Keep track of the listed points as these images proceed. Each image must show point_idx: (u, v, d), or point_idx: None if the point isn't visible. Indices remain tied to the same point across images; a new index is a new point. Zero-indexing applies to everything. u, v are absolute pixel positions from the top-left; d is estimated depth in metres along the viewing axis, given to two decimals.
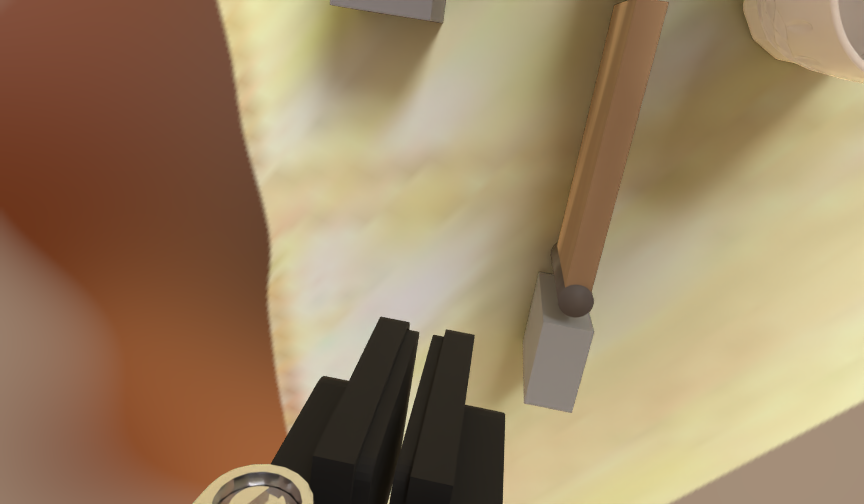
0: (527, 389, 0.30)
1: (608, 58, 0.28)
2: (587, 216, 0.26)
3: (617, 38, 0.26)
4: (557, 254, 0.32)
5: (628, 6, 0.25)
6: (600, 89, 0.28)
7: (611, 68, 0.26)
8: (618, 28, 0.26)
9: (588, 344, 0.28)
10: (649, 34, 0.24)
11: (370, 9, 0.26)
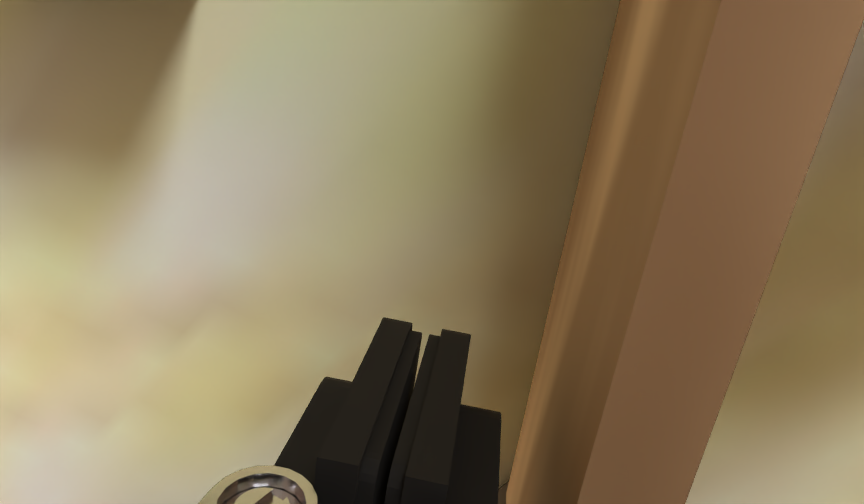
0: None
1: (625, 78, 0.09)
2: None
3: (658, 13, 0.08)
4: None
5: None
6: (601, 167, 0.10)
7: (638, 115, 0.08)
8: None
9: None
10: None
11: None
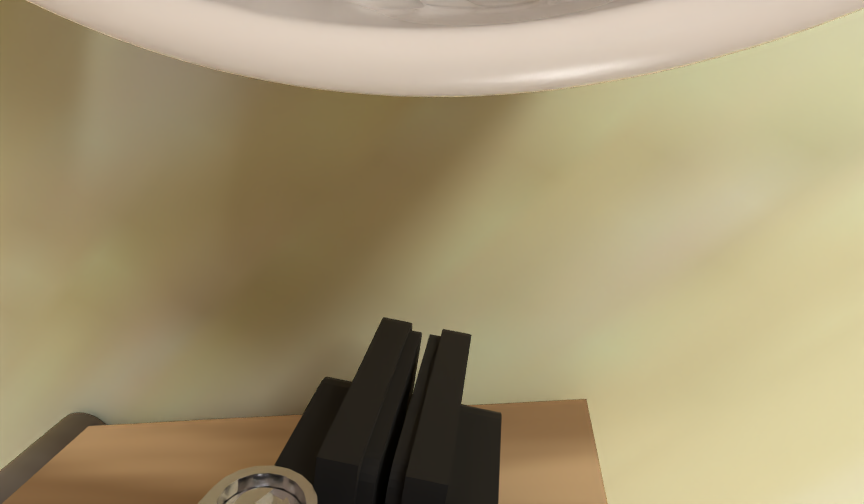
0: None
1: None
2: None
3: None
4: (47, 458, 0.14)
5: None
6: None
7: None
8: (541, 500, 0.11)
9: None
10: None
11: None
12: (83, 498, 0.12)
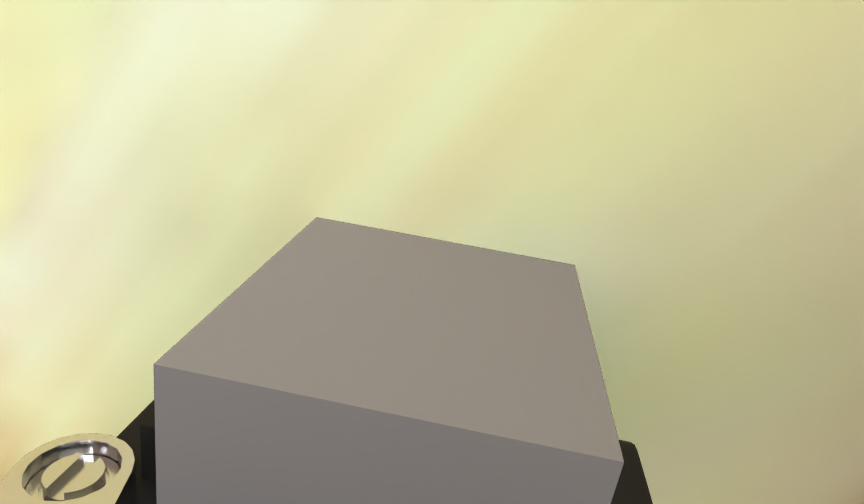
0: None
1: None
2: None
3: None
4: None
5: None
6: None
7: None
8: None
9: None
10: None
11: None
12: None
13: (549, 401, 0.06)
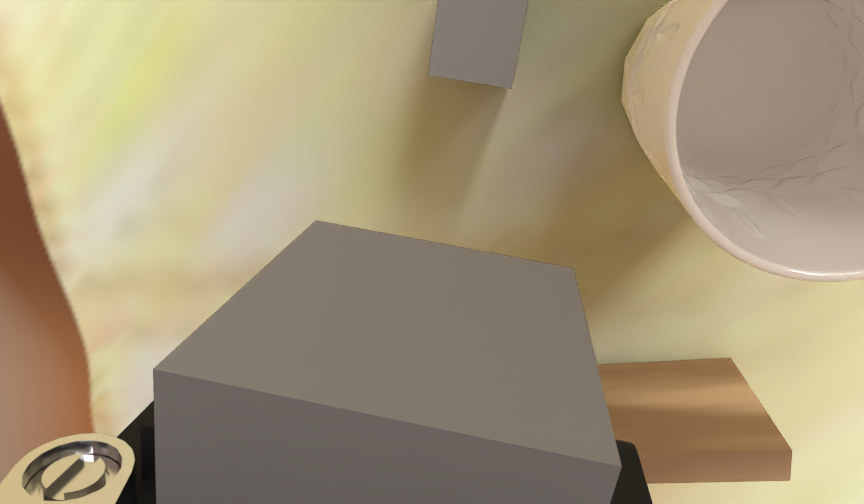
0: None
1: (684, 390, 0.23)
2: None
3: (717, 407, 0.22)
4: None
5: (764, 420, 0.21)
6: (646, 390, 0.24)
7: (684, 414, 0.22)
8: (726, 401, 0.22)
9: None
10: (750, 471, 0.20)
11: None
12: None
13: (548, 406, 0.06)
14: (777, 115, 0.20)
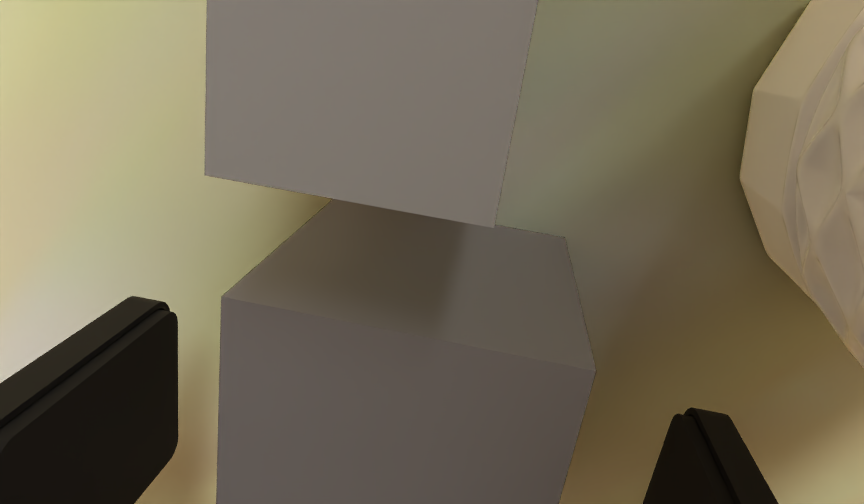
0: None
1: None
2: None
3: None
4: None
5: None
6: None
7: None
8: None
9: None
10: None
11: None
12: None
13: (538, 330, 0.08)
14: None
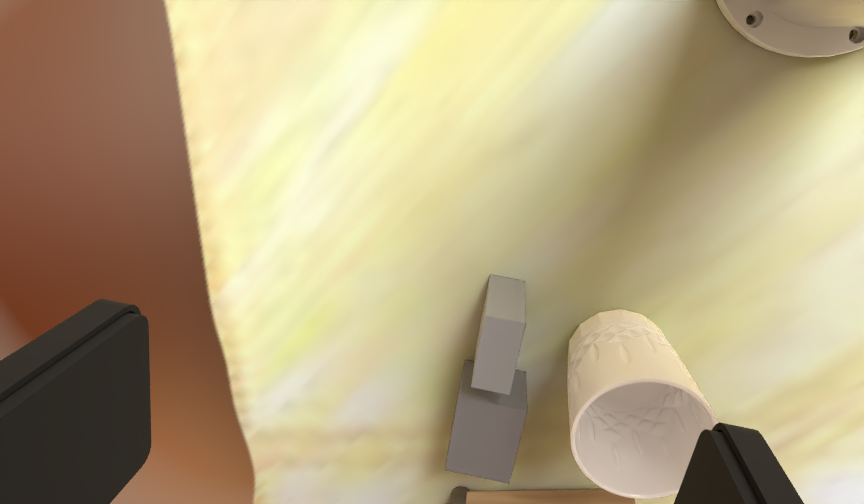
0: None
1: None
2: None
3: None
4: (464, 503, 0.46)
5: None
6: None
7: None
8: None
9: None
10: None
11: (471, 474, 0.41)
12: None
13: (517, 402, 0.40)
14: None
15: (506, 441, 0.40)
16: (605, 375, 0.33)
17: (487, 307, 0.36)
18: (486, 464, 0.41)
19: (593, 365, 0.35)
